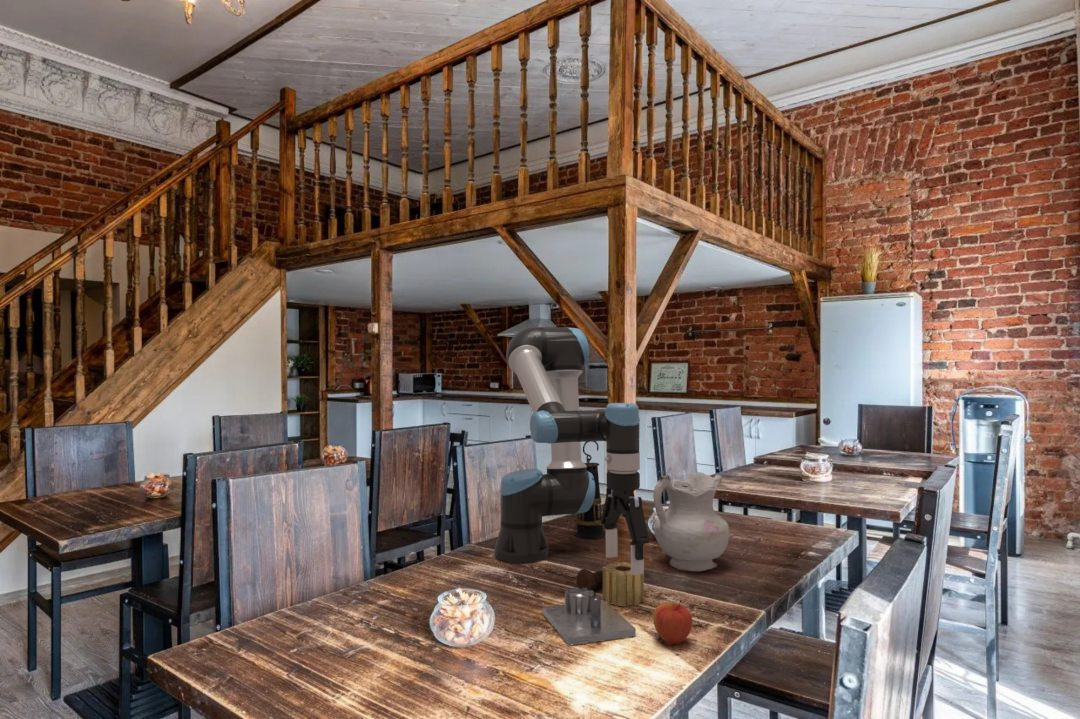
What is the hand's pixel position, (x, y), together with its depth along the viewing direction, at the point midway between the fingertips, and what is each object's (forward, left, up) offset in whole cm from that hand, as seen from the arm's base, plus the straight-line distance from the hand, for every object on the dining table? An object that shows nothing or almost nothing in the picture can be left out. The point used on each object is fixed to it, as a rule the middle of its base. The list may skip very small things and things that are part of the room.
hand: (624, 565), depth 142 cm
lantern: (-52, +13, -8) cm, 55 cm away
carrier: (+10, -13, -8) cm, 18 cm away
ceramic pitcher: (-17, +27, -8) cm, 33 cm away
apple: (+22, 0, -8) cm, 24 cm away
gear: (0, 0, -8) cm, 8 cm away
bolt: (-10, 0, -8) cm, 13 cm away
